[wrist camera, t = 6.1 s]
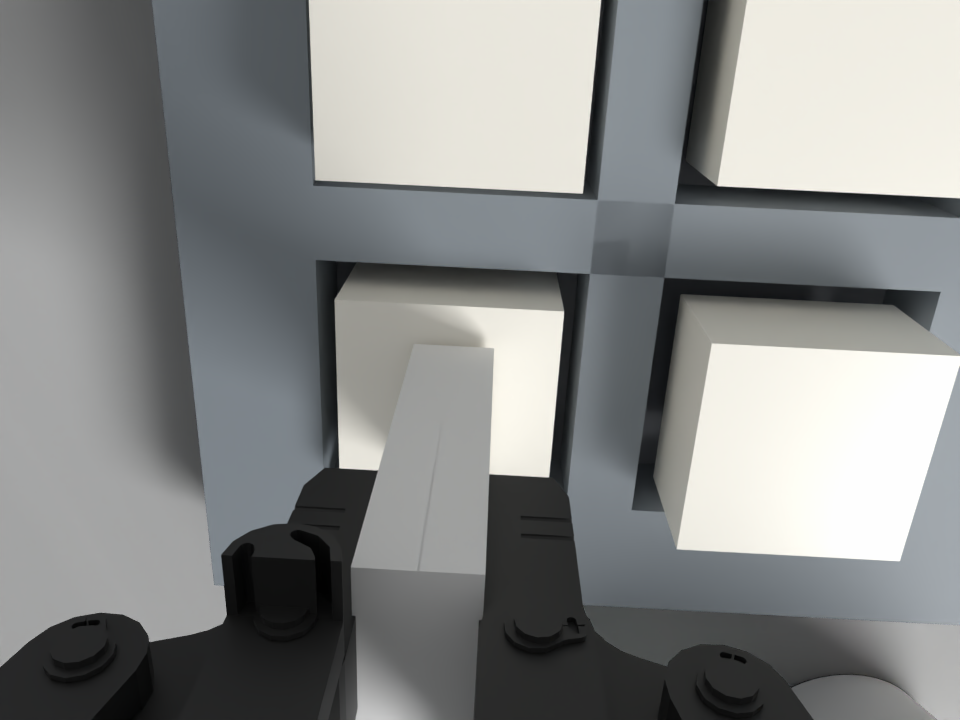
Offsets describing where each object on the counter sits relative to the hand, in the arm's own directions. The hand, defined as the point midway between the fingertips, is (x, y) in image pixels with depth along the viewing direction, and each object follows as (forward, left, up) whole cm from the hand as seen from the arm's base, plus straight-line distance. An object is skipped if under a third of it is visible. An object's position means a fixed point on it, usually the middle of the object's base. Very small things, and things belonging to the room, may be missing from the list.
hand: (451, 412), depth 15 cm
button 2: (+6, 0, -2) cm, 7 cm away
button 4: (0, 0, -3) cm, 3 cm away
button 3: (0, +7, -2) cm, 7 cm away
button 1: (+6, +7, -3) cm, 10 cm away
